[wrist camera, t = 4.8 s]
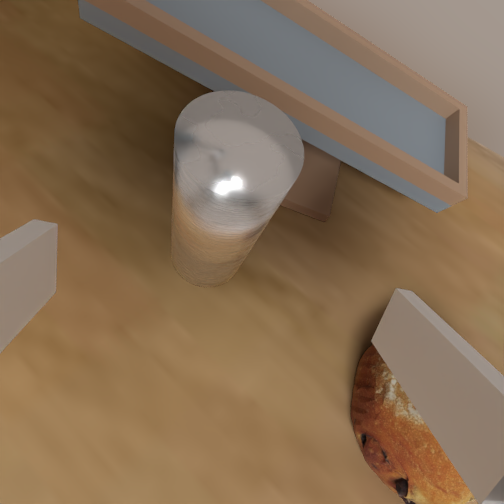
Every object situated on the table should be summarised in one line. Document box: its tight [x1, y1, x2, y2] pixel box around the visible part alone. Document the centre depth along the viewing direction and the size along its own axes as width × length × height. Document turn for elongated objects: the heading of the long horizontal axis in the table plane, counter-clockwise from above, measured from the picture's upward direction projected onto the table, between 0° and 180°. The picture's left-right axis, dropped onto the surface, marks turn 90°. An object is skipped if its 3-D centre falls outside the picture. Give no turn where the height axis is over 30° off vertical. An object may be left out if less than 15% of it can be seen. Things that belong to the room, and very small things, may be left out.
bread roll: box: [351, 345, 475, 504], centre depth 21 cm, size 10×10×8 cm
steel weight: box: [171, 90, 304, 287], centre depth 18 cm, size 5×5×12 cm
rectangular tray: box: [78, 0, 468, 213], centre depth 22 cm, size 26×11×3 cm, turn 74°
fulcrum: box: [280, 139, 341, 222], centre depth 26 cm, size 12×12×5 cm
